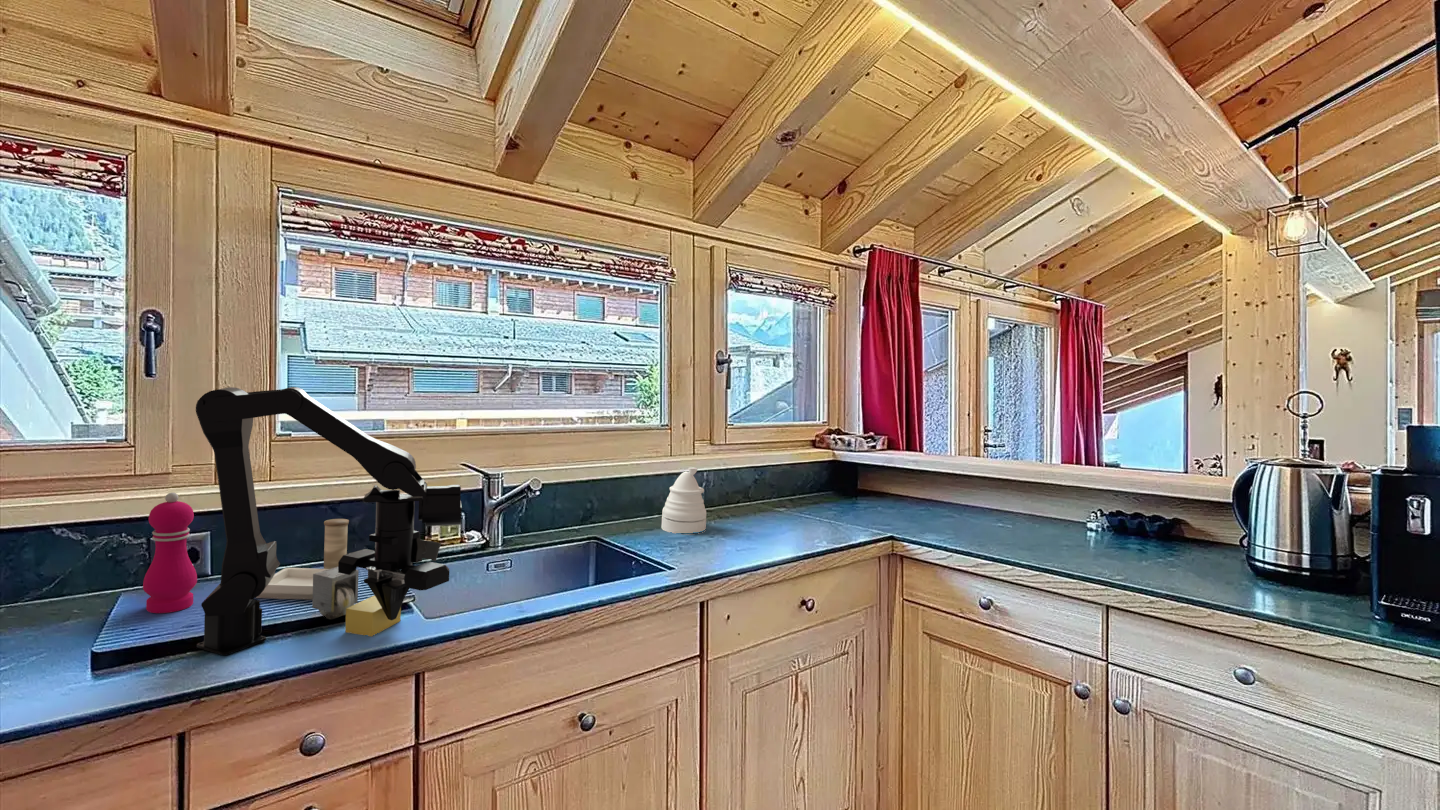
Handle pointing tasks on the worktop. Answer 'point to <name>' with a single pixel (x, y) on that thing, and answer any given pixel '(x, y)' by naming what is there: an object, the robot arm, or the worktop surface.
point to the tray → (291, 584)
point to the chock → (368, 618)
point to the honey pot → (684, 506)
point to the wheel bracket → (334, 592)
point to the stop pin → (335, 541)
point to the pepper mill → (170, 558)
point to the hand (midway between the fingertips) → (392, 619)
